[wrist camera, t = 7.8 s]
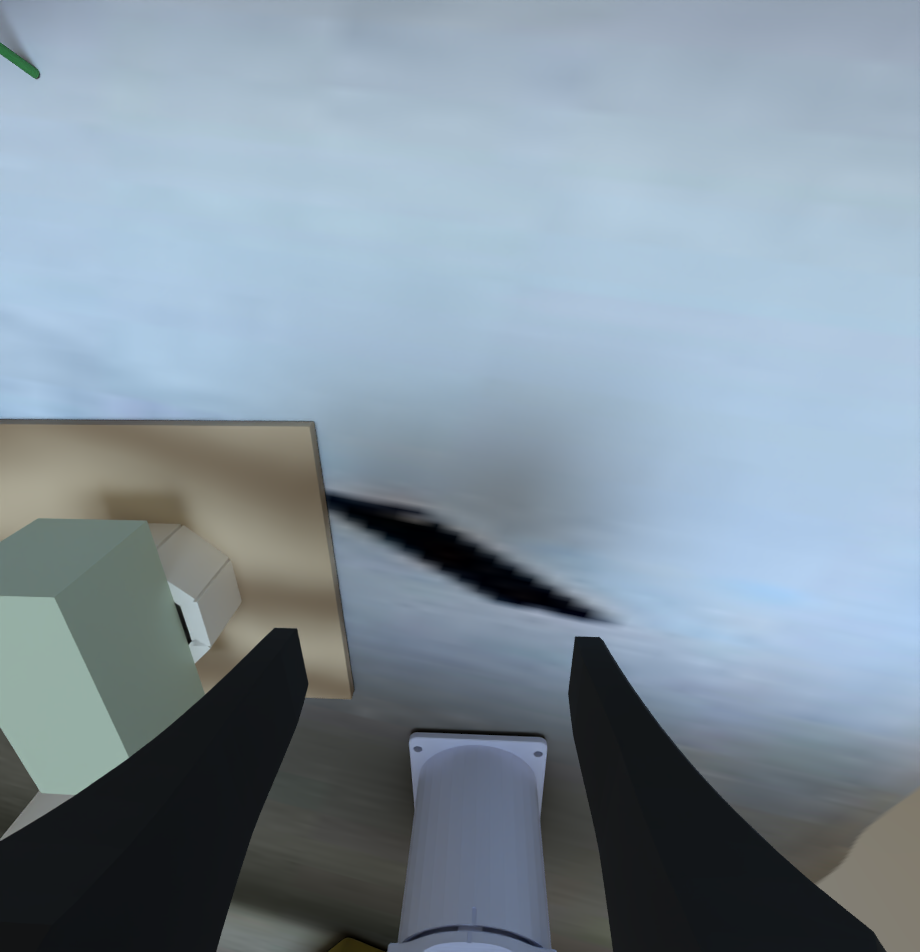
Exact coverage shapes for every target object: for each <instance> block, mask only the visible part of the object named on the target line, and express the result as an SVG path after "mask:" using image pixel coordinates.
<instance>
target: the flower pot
mask: <svg viewBox="0 0 920 952" xmlns="http://www.w3.org/2000/svg"><path fill="white" fill-rule="evenodd" d="M328 952H385V951H382V950H380V949H377V948H375V947H372V946H370V945H367V944H365V943H362V942H360V941H358V940H355V939H352V938H345V939H343V940H342V941H340V942H339V943H338V944H337V945H335V946H334V947H333V948H332V949H330V950H329V951H328Z"/></svg>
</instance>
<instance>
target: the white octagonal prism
mask: <svg viewBox="0 0 920 952" xmlns="http://www.w3.org/2000/svg"><path fill="white" fill-rule="evenodd" d="M148 525H149V528H150V531H151V534H152V537H153V540H154V543H155V546H156V549H157V552H158V555H159V558H160V561H161V564H162V567H163V570H164V573H165V576H166V579H167V582H168V585H169V588H170V591H171V594H172V597H173V600H174V603H175V606H176V609H177V612H178V615H179V618H180V621H181V624H182V627H183V630H184V633H185V636H186V639H187V642H188V645H189V648H190V651H191V654H192V657H193V660H194V663H196V662H197V661H198V660H199V659H200V658H201V657H202V656H203V655H204V654H205V653H206V652H207V651H208V650H209V649H210V648H211V647H212V645H213V644H214V643H215V641H216V640H217V638H218V637H219V635H220V634H221V632H222V631H223V629H224V628H225V626H226V625H227V623H228V622H229V620H230V619H231V617H232V616H233V614H234V613H235V611H236V610H237V608H238V607H239V606H240V604H241V601H242V600H241V596H240V593H239V589H238V585H237V581H236V577H235V574H234V570H233V566H232V562H231V560H227V559H228V558H229V557H228V556H227V555H225V554H224V553H222V552H221V551H220V550H218V549H217V548H215V547H214V546H212V545H211V544H210V543H208V542H207V541H205V540H204V539H203V538H201V537H200V536H198V535H197V534H196V533H194V532H193V531H191V530H190V529H189V528H187V527H186V526H184V525H183V526H182V527H181V524H163V523H148Z"/></svg>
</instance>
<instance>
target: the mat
mask: <svg viewBox="0 0 920 952" xmlns="http://www.w3.org/2000/svg"><path fill="white" fill-rule="evenodd" d="M38 518H51V519H97V520H143V521H147V522H148V523H163V524H181V527H182V526H183V525H184V526H186V527H187V528H189V529H190V530H191V531H193V532H194V533H196V534H197V535H198V536H200V537H201V538H203V539H204V540H205V541H207V542H208V543H210V544H211V545H212V546H214V547H215V548H217V549H218V550H220V551H221V552H222V553H224V554H225V555H227V556H228V557H229V558H228V559H227V560H231V562H232V566H233V570H234V574H235V577H236V581H237V585H238V589H239V593H240V596H241V600H242V601H241V604H240V606H239V607H238V608H237V610H236V611H235V613H234V614H233V616H232V617H231V619H230V620H229V622H228V623H227V625H226V626H225V628H224V629H223V631H222V632H221V634H220V635H219V637H218V638H217V640H216V641H215V643H214V644H213V645H212V647H211V648H210V649H209V650H208V651H207V652H206V653H205V654H204V655H203V656H202V657H201V658H200V659H199V660H198V661H197V662H196V663H195V666H196V669H197V672H198V675H199V678H200V681H201V684H202V687H203V690H204V693H205V694H206V693H207V692H208V691H209V690H211V689H212V688H213V687H214V686H215V685H216V684H217V683H218V682H219V681H220V680H221V679H222V678H223V677H224V676H225V675H226V674H227V673H228V672H230V671H231V670H232V669H233V668H234V667H235V666H236V665H237V664H238V663H239V662H240V661H241V660H242V659H243V658H244V657H245V656H246V655H247V654H248V653H249V652H250V651H251V650H252V649H253V648H254V647H255V646H256V645H257V644H258V643H259V642H260V641H261V640H262V639H263V638H264V637H265V636H266V635H267V634H268V633H269V632H270V631H272V630H273V629H274V628H297V630H298V635H299V640H300V645H301V649H302V654H303V659H304V664H305V669H306V674H307V679H308V684H309V685H308V689H307V692H306V696H305V698H329V699H352V696H353V692H354V686H353V679H352V673H351V666H350V659H349V653H348V646H347V639H346V632H345V626H344V619H343V612H342V606H341V599H340V592H339V585H338V579H337V572H336V565H335V559H334V552H333V545H332V538H331V532H330V525H329V518H328V512H327V505H326V498H325V491H324V485H323V478H322V471H321V465H320V458H319V451H318V444H317V438H316V431H315V424H314V422H297V421H161V420H24V419H0V542H1V541H2V540H4V539H6V538H7V537H9V536H10V535H12V534H14V533H15V532H17V531H18V530H20V529H22V528H23V527H25V526H26V525H28V524H30V523H31V522H33V521H34V520H36V519H38Z"/></svg>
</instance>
